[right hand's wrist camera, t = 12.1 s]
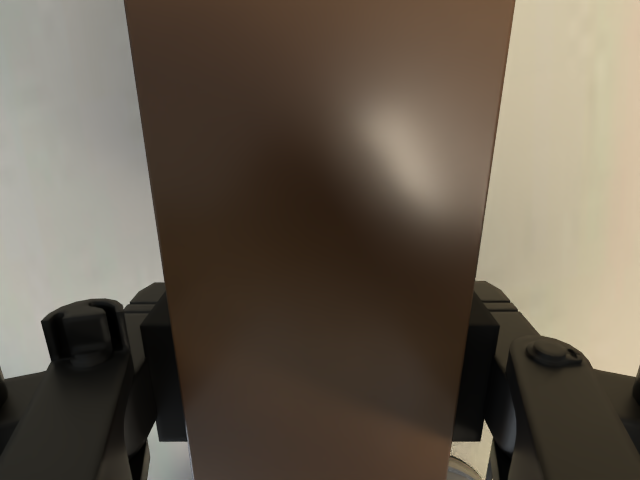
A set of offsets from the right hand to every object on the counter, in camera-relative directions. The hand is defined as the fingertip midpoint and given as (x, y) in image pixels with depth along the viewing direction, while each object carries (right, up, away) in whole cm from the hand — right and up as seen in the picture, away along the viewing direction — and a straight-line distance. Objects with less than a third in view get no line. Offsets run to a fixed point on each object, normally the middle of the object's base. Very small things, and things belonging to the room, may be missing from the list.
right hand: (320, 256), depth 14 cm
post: (0, +24, -9) cm, 26 cm away
